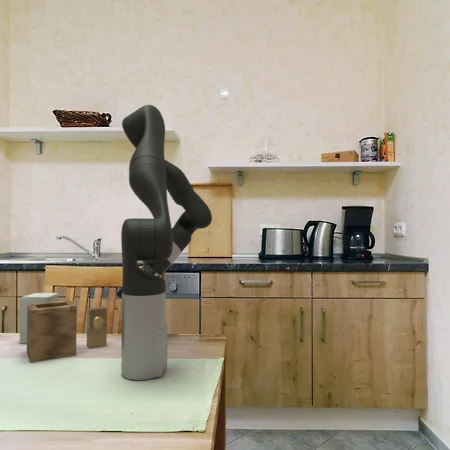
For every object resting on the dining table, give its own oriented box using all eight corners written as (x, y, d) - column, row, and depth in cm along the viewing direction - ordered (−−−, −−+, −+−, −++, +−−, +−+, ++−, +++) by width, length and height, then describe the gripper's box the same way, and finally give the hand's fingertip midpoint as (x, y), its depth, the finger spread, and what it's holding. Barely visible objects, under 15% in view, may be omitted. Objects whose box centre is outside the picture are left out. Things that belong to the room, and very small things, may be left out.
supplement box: (46, 344, 98) (46, 297, 98) (18, 343, 98) (19, 296, 99) (58, 336, 106) (59, 292, 106) (33, 335, 106) (34, 292, 106)
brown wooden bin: (69, 345, 97) (69, 300, 97) (76, 354, 90) (76, 305, 90) (26, 351, 92) (27, 304, 92) (30, 362, 84) (30, 310, 84)
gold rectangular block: (103, 343, 99) (104, 306, 99) (106, 345, 97) (107, 308, 97) (86, 346, 97) (86, 308, 97) (88, 348, 94) (89, 310, 94)
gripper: (144, 246, 112) (106, 286, 105) (163, 248, 100) (121, 294, 93) (160, 262, 115) (124, 303, 108) (180, 266, 103) (141, 312, 96)
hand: (123, 299), depth 101 cm, fingers open, 8 cm apart
